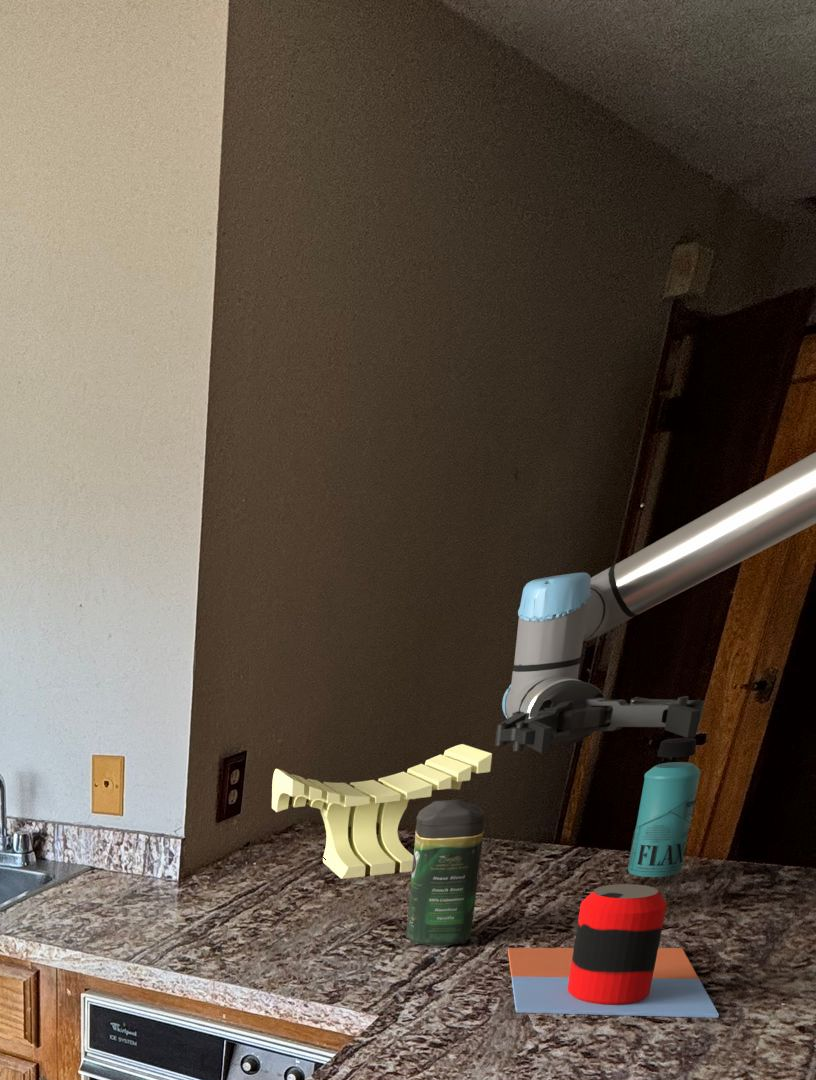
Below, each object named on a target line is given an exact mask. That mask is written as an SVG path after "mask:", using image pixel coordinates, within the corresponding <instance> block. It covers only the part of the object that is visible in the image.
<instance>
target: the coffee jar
mask: <svg viewBox="0 0 816 1080" xmlns="http://www.w3.org/2000/svg"><path fill="white" fill-rule="evenodd" d="M415 825H416V826H415V833H414V846H413V866H412V871H411V879H410V889H409V901H408V911H407V919H406V920H407V921H406V922H407V923H406V936H407V938H408V940H409V942H411V943H413V944H415V945H424V946H430V947H431V948H432V947H433V948H434V947H435V948H439V947H440V948H444V947H449V946H452V945H458V944H465V943H467V942H468V941H469V940H470V939H471V936H472V929H473V921H474V914H475V905H476V897H477V891H478V884H479V883H478V882H479V876H480V868H481V858H482V850H483V849H482V848H483V840H484V839H483V838H484V830H485V812H484V810H483V809H482V808H481V807H480V806H478V805H476V804H474V803H471V802H469V801H468V800H467V799H447V800H434V801H432V802H431V803H430V804H429V805H426V806H425V807H423V808H422V809H420V810H419V811H418V814H417V816H416V823H415Z"/></svg>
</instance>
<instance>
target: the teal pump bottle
mask: <svg viewBox="0 0 816 1080" xmlns="http://www.w3.org/2000/svg"><path fill="white" fill-rule="evenodd" d="M696 748H697V739H696V738H694V737H688V738H687V737H679V738H678V737H676V738H668V739H664V740H662V741H661V742H660V744H659V748H658V751H657V753H656V754H657V757H659V758H665V759H666V758H668V759H669V758H671V759H673V758H685V757H691V756H694V755H696V751H697V749H696ZM701 774H702V770H701V769H700V768H699V767H698V766H696V765H695V763H692V762H686V761H674V762H673V761H671V762H664V763H663V762H662V763H659V764H656V765H654V766H653V767H651V768H650V769H649V770H648V771H646V772H645V773H644V776H643V778H644V781H643V785H642V791H641V796H640V802H639V809H638V813H637V820H636V825H635V829H634V832H633V837H632V841H631V846H630V850H629V851H630V853H629V856H628V860H627V866H626V868H627V870H628V873H629V874H630V875H633V876H636V877H645V878H661V877H662V878H663V877H670V876H675V875H677V874H679V873H680V872H681V870H682V868H683V866H684V865H685V861H684V860H685V858H686V857H685V856H686V854H687V849H688V840H689V838H690V837H689V836H690V834H691V828H690V826H691V824H692V818H693V816H694V814H695V809H696V803H697V795H698V785H699V781H700V776H701Z"/></svg>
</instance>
